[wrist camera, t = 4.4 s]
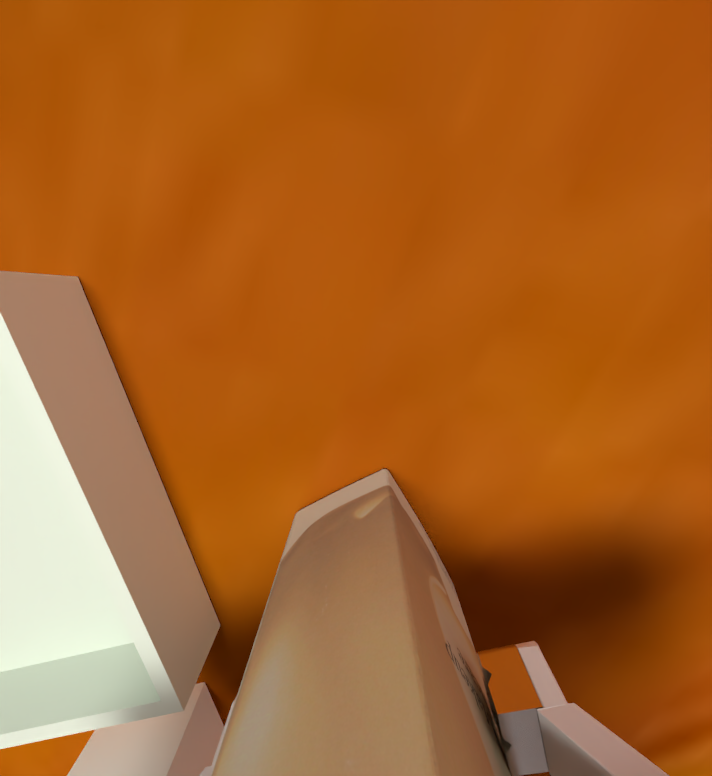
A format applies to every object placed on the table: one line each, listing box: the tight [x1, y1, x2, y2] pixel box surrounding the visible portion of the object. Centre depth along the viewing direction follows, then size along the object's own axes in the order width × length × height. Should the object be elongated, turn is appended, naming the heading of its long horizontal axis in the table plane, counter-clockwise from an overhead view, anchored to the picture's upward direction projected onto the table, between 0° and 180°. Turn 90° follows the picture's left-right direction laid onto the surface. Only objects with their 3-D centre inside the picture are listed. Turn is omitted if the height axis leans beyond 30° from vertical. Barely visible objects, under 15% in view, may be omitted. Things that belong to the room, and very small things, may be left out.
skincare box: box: [211, 469, 511, 776], centre depth 10 cm, size 6×4×12 cm
